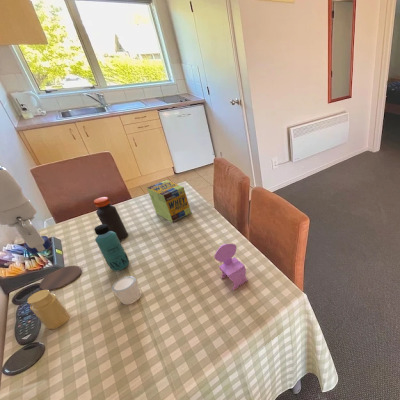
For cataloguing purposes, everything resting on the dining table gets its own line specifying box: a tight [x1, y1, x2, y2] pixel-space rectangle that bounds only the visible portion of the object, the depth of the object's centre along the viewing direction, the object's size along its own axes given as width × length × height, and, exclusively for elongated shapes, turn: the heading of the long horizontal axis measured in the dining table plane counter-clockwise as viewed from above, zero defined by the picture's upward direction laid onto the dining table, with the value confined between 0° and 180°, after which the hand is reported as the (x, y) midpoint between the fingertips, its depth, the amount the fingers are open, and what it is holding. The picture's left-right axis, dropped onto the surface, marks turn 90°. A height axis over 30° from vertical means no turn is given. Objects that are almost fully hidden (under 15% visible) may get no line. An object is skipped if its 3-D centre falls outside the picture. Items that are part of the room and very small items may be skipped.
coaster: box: [39, 265, 83, 292], centre depth 100 cm, size 12×12×1 cm
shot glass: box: [111, 275, 142, 306], centre depth 90 cm, size 7×7×7 cm
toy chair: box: [214, 243, 248, 291], centre depth 94 cm, size 8×9×15 cm
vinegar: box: [93, 196, 129, 242], centre depth 116 cm, size 7×7×20 cm
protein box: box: [146, 179, 192, 223], centre depth 134 cm, size 10×15×16 cm
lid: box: [23, 235, 53, 255], centre depth 92 cm, size 6×6×3 cm
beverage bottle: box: [94, 223, 130, 272], centre depth 99 cm, size 6×7×20 cm
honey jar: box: [26, 289, 71, 330], centre depth 81 cm, size 6×6×12 cm
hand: (39, 246), depth 92 cm, fingers closed on lid, 6 cm apart
